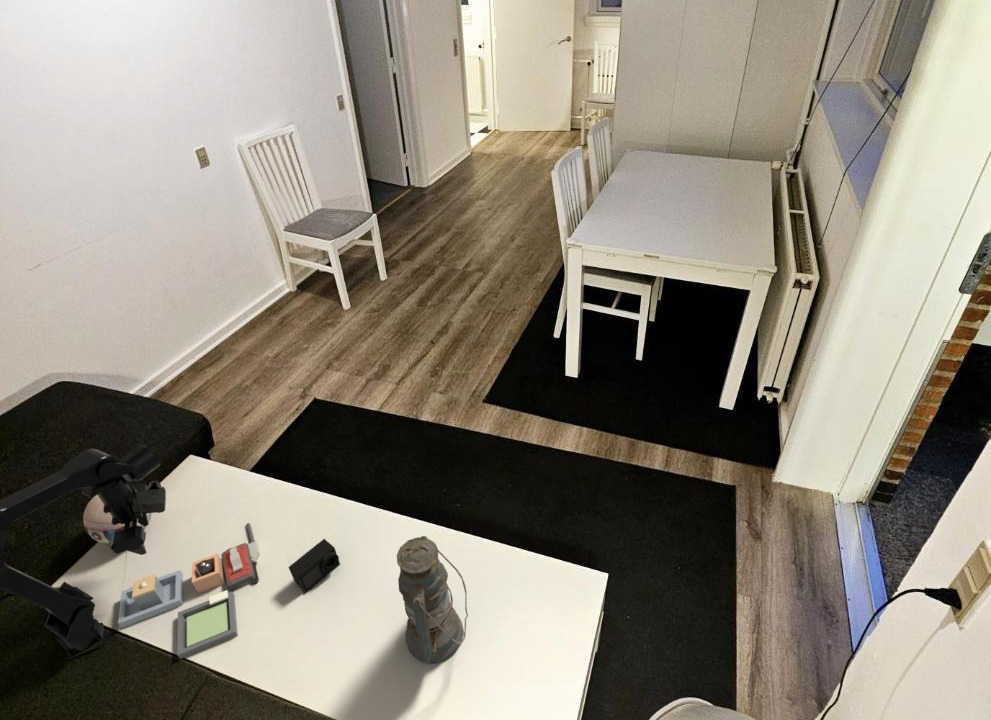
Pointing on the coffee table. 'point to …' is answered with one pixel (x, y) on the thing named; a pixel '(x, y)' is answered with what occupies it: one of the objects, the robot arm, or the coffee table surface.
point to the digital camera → (314, 565)
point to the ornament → (101, 522)
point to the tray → (172, 599)
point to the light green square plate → (207, 624)
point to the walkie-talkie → (241, 563)
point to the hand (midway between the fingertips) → (145, 539)
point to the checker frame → (213, 640)
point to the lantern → (428, 602)
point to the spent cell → (205, 567)
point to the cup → (210, 579)
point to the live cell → (148, 592)
